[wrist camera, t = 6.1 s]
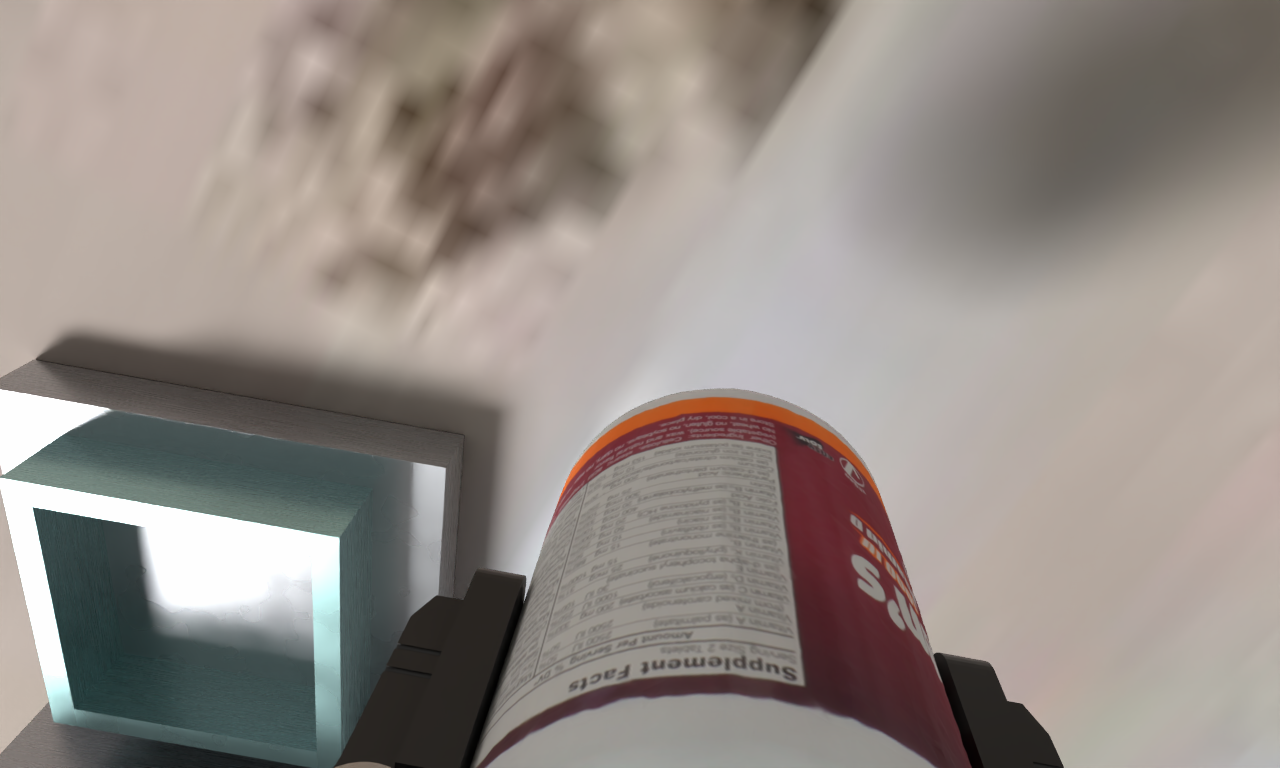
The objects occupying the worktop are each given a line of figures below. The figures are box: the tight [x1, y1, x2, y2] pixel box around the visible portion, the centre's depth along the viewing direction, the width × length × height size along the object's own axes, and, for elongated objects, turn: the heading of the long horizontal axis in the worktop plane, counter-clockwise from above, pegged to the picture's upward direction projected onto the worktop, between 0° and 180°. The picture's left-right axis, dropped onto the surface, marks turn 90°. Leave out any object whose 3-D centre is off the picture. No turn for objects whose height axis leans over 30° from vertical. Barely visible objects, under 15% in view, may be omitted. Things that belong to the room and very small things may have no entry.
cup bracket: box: [0, 360, 464, 768], centre depth 25 cm, size 14×14×10 cm
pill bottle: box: [470, 389, 972, 768], centre depth 11 cm, size 6×6×11 cm
